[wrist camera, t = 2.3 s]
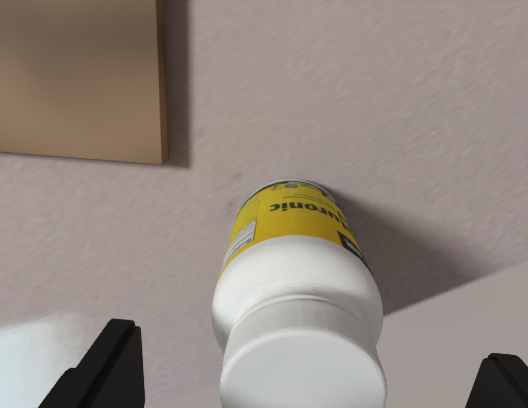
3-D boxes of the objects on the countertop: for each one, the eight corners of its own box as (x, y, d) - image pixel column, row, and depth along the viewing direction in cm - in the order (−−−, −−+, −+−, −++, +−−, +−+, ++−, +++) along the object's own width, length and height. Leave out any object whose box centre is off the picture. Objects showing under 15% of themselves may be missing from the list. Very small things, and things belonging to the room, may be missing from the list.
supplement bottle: (367, 212, 17) (472, 380, 8) (303, 290, 19) (328, 503, 9) (273, 153, 16) (267, 263, 7) (216, 240, 18) (149, 422, 9)
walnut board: (-185, -206, 12) (-224, -229, 11) (158, -182, 12) (148, -204, 11) (-84, 139, 16) (-106, 143, 15) (168, 159, 16) (161, 164, 15)
